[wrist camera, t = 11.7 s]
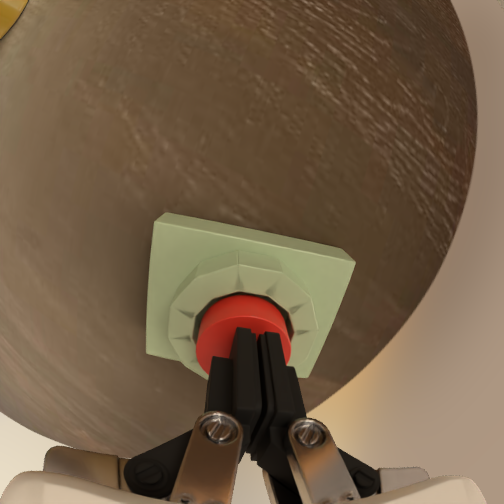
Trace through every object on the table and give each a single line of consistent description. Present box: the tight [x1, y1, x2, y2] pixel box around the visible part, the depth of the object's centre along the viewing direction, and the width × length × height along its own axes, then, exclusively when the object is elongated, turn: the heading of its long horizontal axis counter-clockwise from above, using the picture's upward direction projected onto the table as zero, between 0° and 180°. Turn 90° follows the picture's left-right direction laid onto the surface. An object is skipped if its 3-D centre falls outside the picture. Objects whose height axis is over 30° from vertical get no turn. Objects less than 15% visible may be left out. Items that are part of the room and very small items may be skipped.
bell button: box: [196, 295, 291, 375], centre depth 12 cm, size 4×4×2 cm
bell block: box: [146, 212, 356, 380], centre depth 14 cm, size 10×8×4 cm
